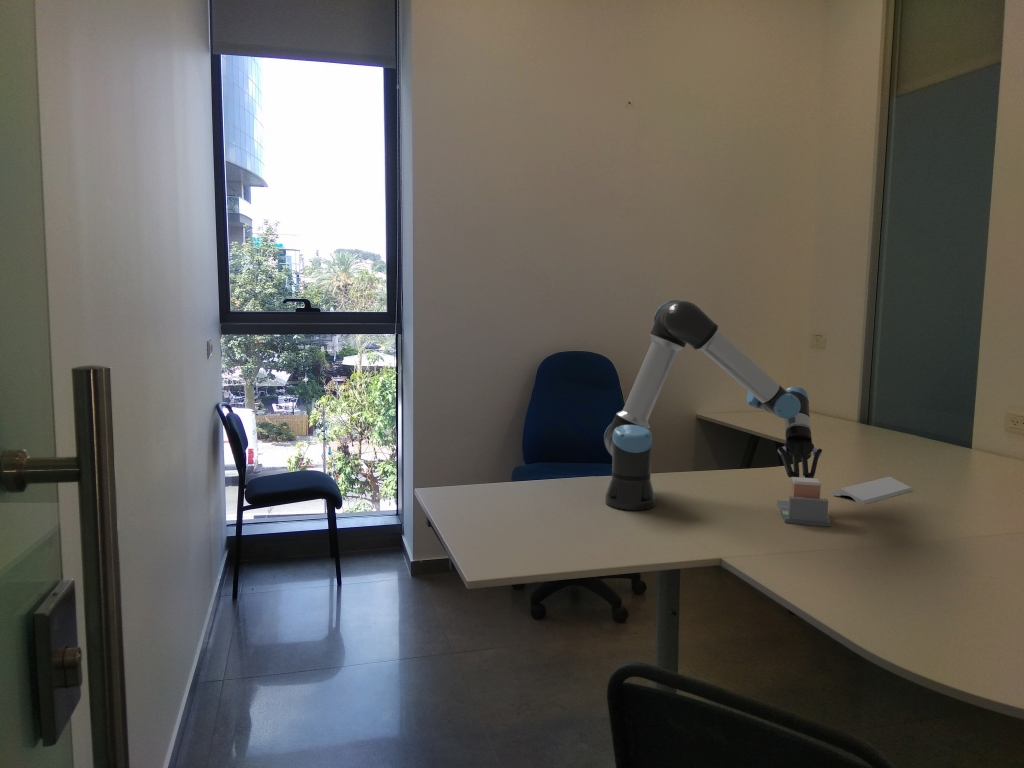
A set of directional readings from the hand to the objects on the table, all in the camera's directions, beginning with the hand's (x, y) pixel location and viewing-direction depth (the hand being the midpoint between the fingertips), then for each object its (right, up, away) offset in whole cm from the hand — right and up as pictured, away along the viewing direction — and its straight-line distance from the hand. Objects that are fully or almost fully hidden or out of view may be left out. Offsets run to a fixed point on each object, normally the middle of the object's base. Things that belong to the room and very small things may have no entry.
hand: (802, 497), depth 212 cm
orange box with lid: (-1, -4, -3) cm, 5 cm away
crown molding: (+32, -3, +25) cm, 41 cm away
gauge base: (0, -5, 0) cm, 5 cm away
